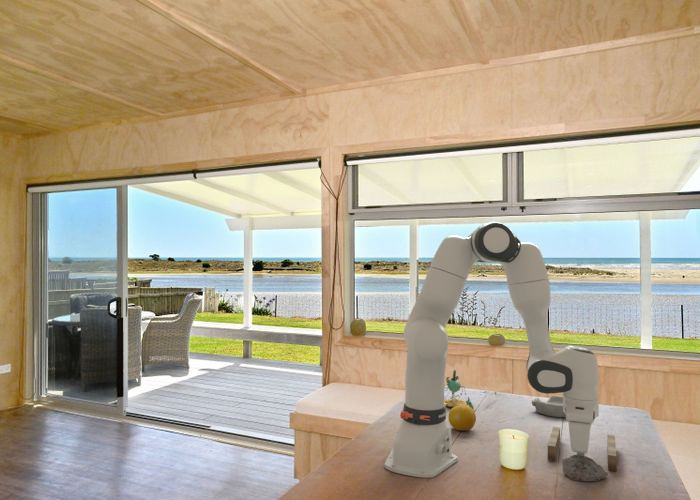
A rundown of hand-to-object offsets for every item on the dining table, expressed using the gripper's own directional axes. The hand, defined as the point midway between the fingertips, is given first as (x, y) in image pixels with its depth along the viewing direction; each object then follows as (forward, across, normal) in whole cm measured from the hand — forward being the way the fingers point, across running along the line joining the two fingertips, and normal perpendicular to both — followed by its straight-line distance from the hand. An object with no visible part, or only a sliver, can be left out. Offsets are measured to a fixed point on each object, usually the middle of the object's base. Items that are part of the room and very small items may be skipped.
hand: (580, 458), depth 135 cm
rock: (+2, +5, 0) cm, 6 cm away
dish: (+2, -50, -10) cm, 51 cm away
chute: (+2, -10, 0) cm, 10 cm away
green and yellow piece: (+2, -41, -45) cm, 61 cm away
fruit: (+2, -15, -36) cm, 39 cm away
